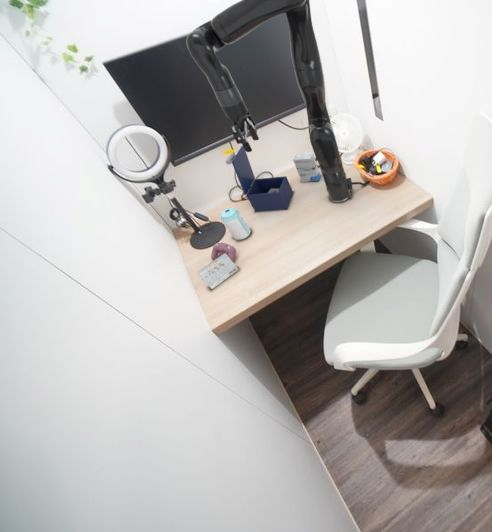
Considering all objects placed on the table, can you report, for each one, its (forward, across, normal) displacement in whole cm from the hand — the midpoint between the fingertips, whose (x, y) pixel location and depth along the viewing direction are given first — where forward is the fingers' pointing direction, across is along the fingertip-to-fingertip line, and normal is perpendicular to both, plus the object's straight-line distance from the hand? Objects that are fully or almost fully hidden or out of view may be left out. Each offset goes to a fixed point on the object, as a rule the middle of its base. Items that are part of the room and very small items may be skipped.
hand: (253, 145), depth 120 cm
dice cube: (+28, +2, +2) cm, 28 cm away
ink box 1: (+29, -40, +12) cm, 51 cm away
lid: (+12, +3, +10) cm, 16 cm away
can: (+29, -18, +12) cm, 36 cm away
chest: (+29, +3, +4) cm, 29 cm away
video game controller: (+29, -30, +15) cm, 44 cm away
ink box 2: (+29, +19, -9) cm, 36 cm away
